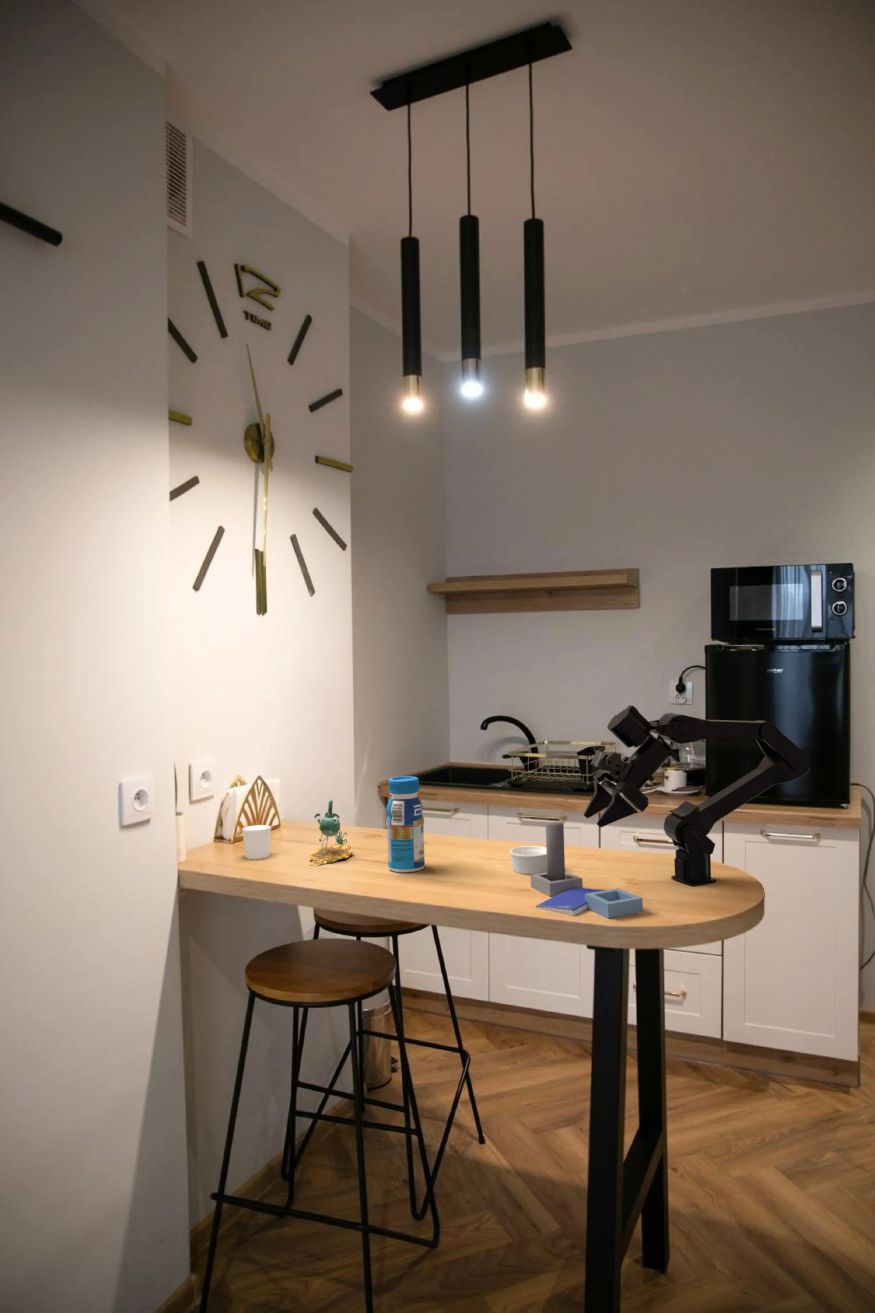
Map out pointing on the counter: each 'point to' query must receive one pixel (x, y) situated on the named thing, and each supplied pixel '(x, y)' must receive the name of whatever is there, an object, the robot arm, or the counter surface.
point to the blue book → (568, 901)
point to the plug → (555, 851)
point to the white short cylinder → (257, 841)
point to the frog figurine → (328, 828)
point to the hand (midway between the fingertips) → (591, 821)
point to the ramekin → (529, 859)
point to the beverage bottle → (405, 825)
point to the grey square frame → (555, 883)
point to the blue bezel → (614, 903)
